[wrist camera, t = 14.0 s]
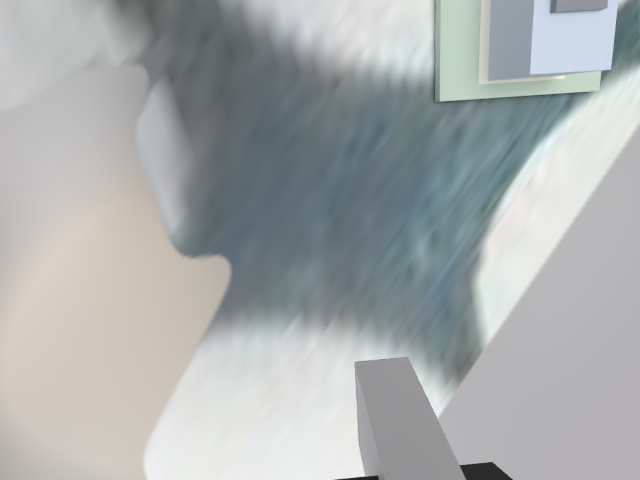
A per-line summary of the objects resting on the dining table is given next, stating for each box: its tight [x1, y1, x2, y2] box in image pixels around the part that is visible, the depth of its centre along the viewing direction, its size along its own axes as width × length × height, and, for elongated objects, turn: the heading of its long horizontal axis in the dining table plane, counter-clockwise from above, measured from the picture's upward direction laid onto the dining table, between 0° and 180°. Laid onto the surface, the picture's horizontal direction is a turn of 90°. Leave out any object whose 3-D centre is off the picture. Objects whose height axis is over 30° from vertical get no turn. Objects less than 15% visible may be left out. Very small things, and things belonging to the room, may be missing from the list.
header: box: [435, 0, 601, 102], centre depth 31 cm, size 12×12×5 cm
